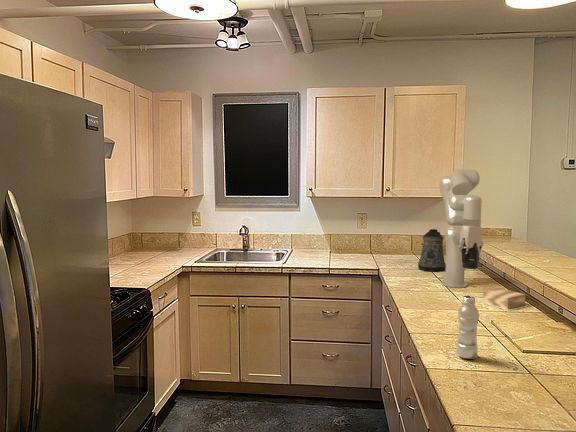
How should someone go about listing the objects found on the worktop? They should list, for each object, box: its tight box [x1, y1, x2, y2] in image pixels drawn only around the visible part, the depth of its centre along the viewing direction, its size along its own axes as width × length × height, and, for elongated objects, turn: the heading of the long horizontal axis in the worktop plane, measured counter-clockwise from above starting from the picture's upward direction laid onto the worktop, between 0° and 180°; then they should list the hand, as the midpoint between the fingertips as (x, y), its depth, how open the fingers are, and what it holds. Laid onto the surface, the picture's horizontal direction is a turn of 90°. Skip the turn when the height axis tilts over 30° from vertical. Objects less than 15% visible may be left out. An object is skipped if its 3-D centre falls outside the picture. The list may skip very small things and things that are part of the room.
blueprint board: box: [479, 300, 531, 312], centre depth 204 cm, size 16×14×1 cm
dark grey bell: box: [417, 228, 446, 273], centre depth 284 cm, size 16×19×25 cm
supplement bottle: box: [462, 243, 480, 270], centre depth 211 cm, size 7×7×12 cm
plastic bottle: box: [456, 295, 480, 360], centre depth 147 cm, size 6×7×20 cm
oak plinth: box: [483, 288, 526, 310], centre depth 204 cm, size 12×12×5 cm
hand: (470, 261), depth 211 cm, fingers closed on supplement bottle, 6 cm apart
